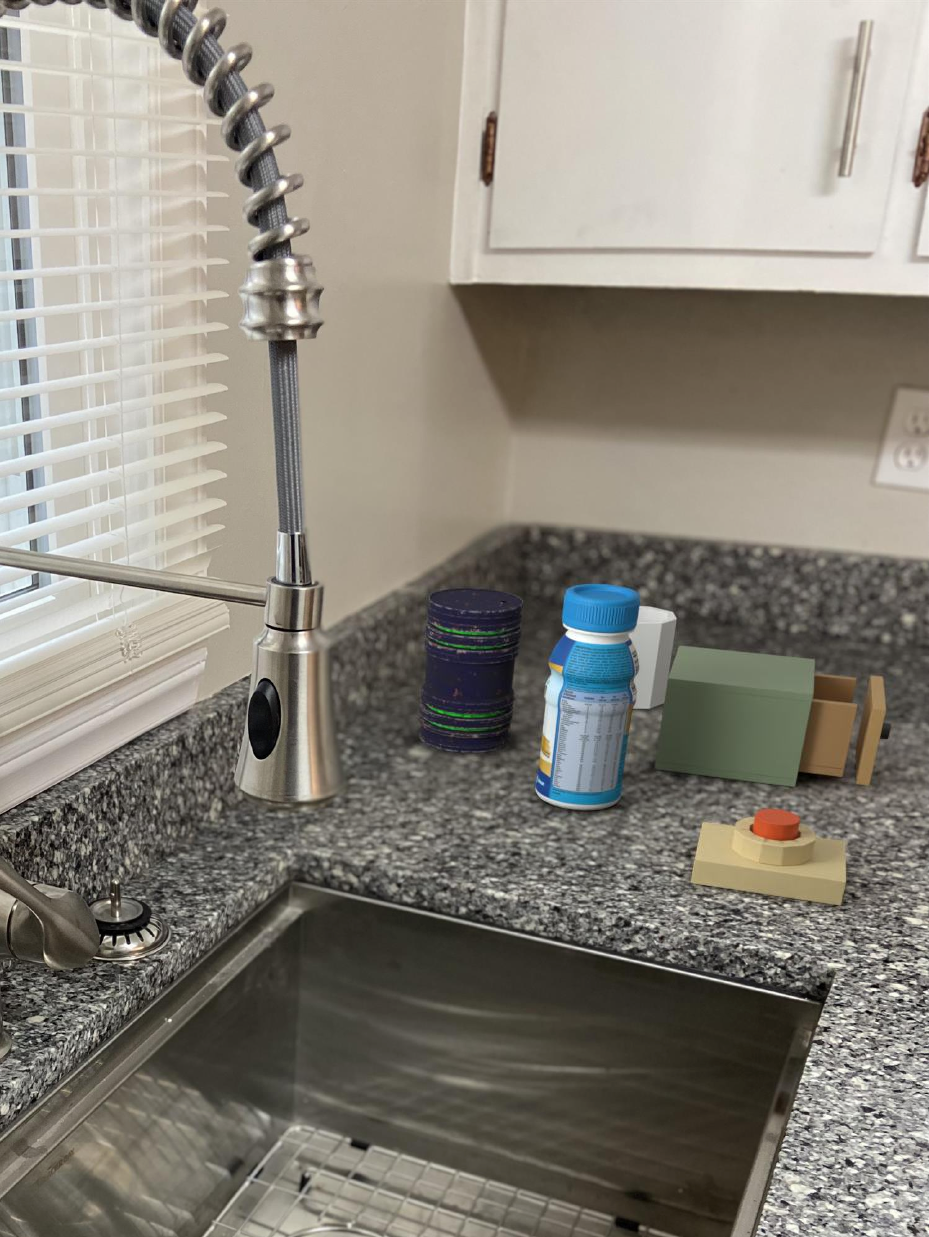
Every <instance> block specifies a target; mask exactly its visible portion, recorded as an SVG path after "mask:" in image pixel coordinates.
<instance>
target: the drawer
mask: <svg viewBox="0 0 929 1237" xmlns="http://www.w3.org/2000/svg"><path fill="white" fill-rule="evenodd" d="M856 684H857V677H852V676H844V675H834V674H823V673H814V694H813V699H812V704H811V709H810V715H809V720H808V725H807V730H806V735H805V740H804V745H803V750H802V755H801V760H800V765H799V770H798V773H808V774H813V775H823V776H833V777H838V778H843V777H844V773H845V768H846V764H847V759H848V754H849V750H850V745H851V740H852V735H853V730H854V725H855V721H856V716H857V712H858V708H859V707H858V703H853V699H854V695H855V689H856ZM886 704H887V702H886V693H885V683H884V676H881V675H872V674H871V675H870V677H869V681H868V686H867V690H866V695H865V700H864V704H863V709H862V713H861V717H860V723H859V726H858V727H859V728H858V732H857V737H856V742H855V746H854V752H855V754H854V756H855V781H856V782H855V783H856V785H861V786H870V785H871V781H872V776H873V771H874V768H875V762H876V758H877V754H878V753H877V752H878V749H879V745H880V740H889V737H890V734H891V728H892V724H891V723H889V722H884V721H885V717H886V713H887V705H886Z"/></svg>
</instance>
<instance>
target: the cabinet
mask: <svg viewBox="0 0 929 1237" xmlns="http://www.w3.org/2000/svg"><path fill="white" fill-rule="evenodd" d="M815 672H816V659H815V658H806V657H797V656H796V657H795V656H788V655H787V656H786V655H777V654H767V653H766V654H765V653H756V652H747V651H737V650H728V649H727V650H726V649H717V648H708V647H698V646H689V645H679V646H678V648H677V651H676V655H675V657H674V660H673V663H672V665H671V668H670V670H669V675H668V681H667V688H666V694H665V701H664V703H663V708H662V709H663V710H662V713H661V714H662V716H661V723H660V728H659V734H658V741H657V748H656V755H655V762H654V768H653V769H654V770H657V771H664V772H665V771H666V772H674V773H681V774H688V775H689V774H690V775H697V776H705V777H711V778H712V777H714V778H719V779H729V780H736V781H745V782H751V783H760V784H766V785H767V784H768V785H775V786H783V787H791V788H795V787H796V786H797V780H798V775H799V772H798V770H799V765H800V760H801V755H802V750H803V745H804V740H805V735H806V730H807V725H808V720H809V715H810V709H811V704H812V699H813V694H814V673H815Z"/></svg>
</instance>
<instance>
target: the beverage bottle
mask: <svg viewBox="0 0 929 1237" xmlns="http://www.w3.org/2000/svg"><path fill="white" fill-rule="evenodd" d="M563 598H564V599H563V606H562V616H561V622H562V626H563V627H564V628H565V629H566V632H565V633H563V635H562V636H561V638H560V639H559V640H558V642H557V643H556V644H555V646H554V647H553V650H552V652H551V654H550V657H549V660H548V666H549V669H550V672H551V673H550V675H549V677H548V679H547V680H546V682H545V685H544V689H543V690H544V691H543V697H544V701H545V705H544V715H543V724H542V727H543V728H542V735H541V744H540V751H539V752H540V753H539V762H538V768H537V774H536V777H535V787H534V789H535V792H536V794H537V796H538V797H539V798H540V800H543V801H544V802H546V803H547V804H550V805H551V806H555V807H558V808H562V809H566V810H572V811H599V810H604V809H608V808H610V807H612V806H615V805H616V804H617V803H619V801H620V799H621V798H622V791H623V778H624V777H623V776H624V768H625V763H626V762H625V761H626V755H627V750H628V741H629V734H630V728H631V722H632V715H633V710H634V709H633V707H634V705H635V703H636V697H637V689H636V687H635V684H634V678H635V676H636V675H637V673H638V671H639V660H638V656H637V652H636V650H635V647H634V645H633V643H632V641H631V639H630V637H629V636H628V634H630V633H632V632H633V631H634V630H635V627H636V625H637V620H638V614H639V607H640V606H641V596H640V594H639V593H638V591H636V590H634V589H632V588H629V587H625V586H621V585H615V584H606V583H584V584H578V585H573V586H570V587H569V588H567V589H566V591H565V594H564V597H563Z"/></svg>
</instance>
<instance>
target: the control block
mask: <svg viewBox="0 0 929 1237" xmlns="http://www.w3.org/2000/svg"><path fill="white" fill-rule="evenodd" d="M754 820H755V816H747V817H745V818H742V819H739V820H738V821H735V824H734V825H730V824H724V823H723V824H722V823H716V822H715V823H714V822H708V821H702V824H701V828H700V832H699V833H700V834H699V837H698V842H697V847H696V852H695V855H694V861H693V867H692V872H691V879H690V884H694V885H700V886H708V887H715V888H720V889H721V888H722V889H728V890H734V891H741V892H747V893H754V894H761V895H767V896H774V897H781V898H788V899H792V900H793V899H794V900H801V901H808V902H815V903H820V904H828V905H832V906H833V905H834V906H842V904H843V899H844V895H845V890H846V885H847V842H846V840H838V839H832V838H825V837H816V835H817V834H816V832H815V831H814V830H812V829H811V828H810V827H809V826H808V825H806V824H803V823H800V824H799V829H798V834H797V839H795V840H790V841H777V840H770V839H766V838H763V837H760V836H757V835H755V834H754V833H752V830H753V825H754Z"/></svg>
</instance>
